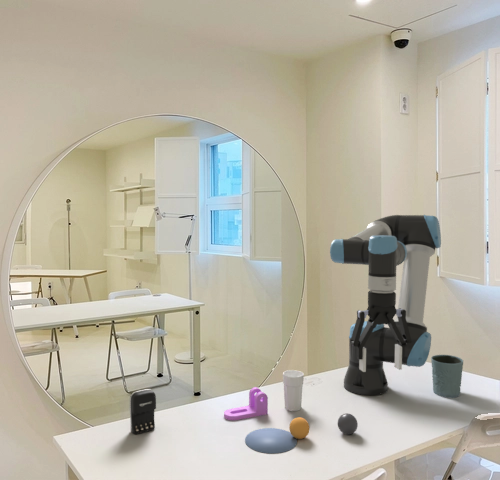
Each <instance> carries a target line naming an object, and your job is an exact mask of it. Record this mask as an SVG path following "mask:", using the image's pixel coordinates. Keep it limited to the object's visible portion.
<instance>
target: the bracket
mask: <svg viewBox="0 0 500 480" xmlns="http://www.w3.org/2000/svg"><path fill="white" fill-rule="evenodd" d="M268 399H269V397H268V395H267V394H266V393H265V392H264V391H262V390H261V389H260V388H259V387H257V386H254V387H252V388H251V389H250V390H249V393H248V405H244V406H239V407H232V408H229V409H226V410H224V411H223V418H224V419H225V420H228V421H238V420H243V419H249V418H254V417H255V418H256V417H259V416H266V415H268V407H269V405H268V404H269V403H268V402H269V401H268Z"/></svg>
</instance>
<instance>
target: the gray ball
mask: <svg viewBox="0 0 500 480" xmlns="http://www.w3.org/2000/svg"><path fill="white" fill-rule="evenodd" d="M358 427H359V426H358V420H357V418H356V417H355V416H354V415H353V414H351V413H343V414H341V415H340V416H339V418H338V419H337V428H338V429H339V431H340V432H341V433H343V434H344V435H353V434H355V432H356V431H357V429H358Z"/></svg>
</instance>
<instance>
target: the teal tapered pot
mask: <svg viewBox="0 0 500 480" xmlns="http://www.w3.org/2000/svg"><path fill="white" fill-rule="evenodd" d="M430 359H431V367H432V368H431V369H432V370H431V374H432V391H433V393H434V394H435V395H436V396H439V397H442V398H449V399H453V398H458V397H460V395H461V387H462V376H463V368H464V360H463V358H461V357H458V356H456V355H450V354H434V355H432V356H431V358H430Z"/></svg>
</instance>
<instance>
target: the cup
mask: <svg viewBox="0 0 500 480" xmlns="http://www.w3.org/2000/svg"><path fill="white" fill-rule="evenodd" d="M304 378H305V374H304V372H303V371H300V370H295V369H287V370H285V371H283V372H282V381H283V382H282V384H283V395H284V396H283V397H284V409H286V410H287V411H291V412H296V411H300V410H301V409H302V401H303V400H302V399H303V385H304Z"/></svg>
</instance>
